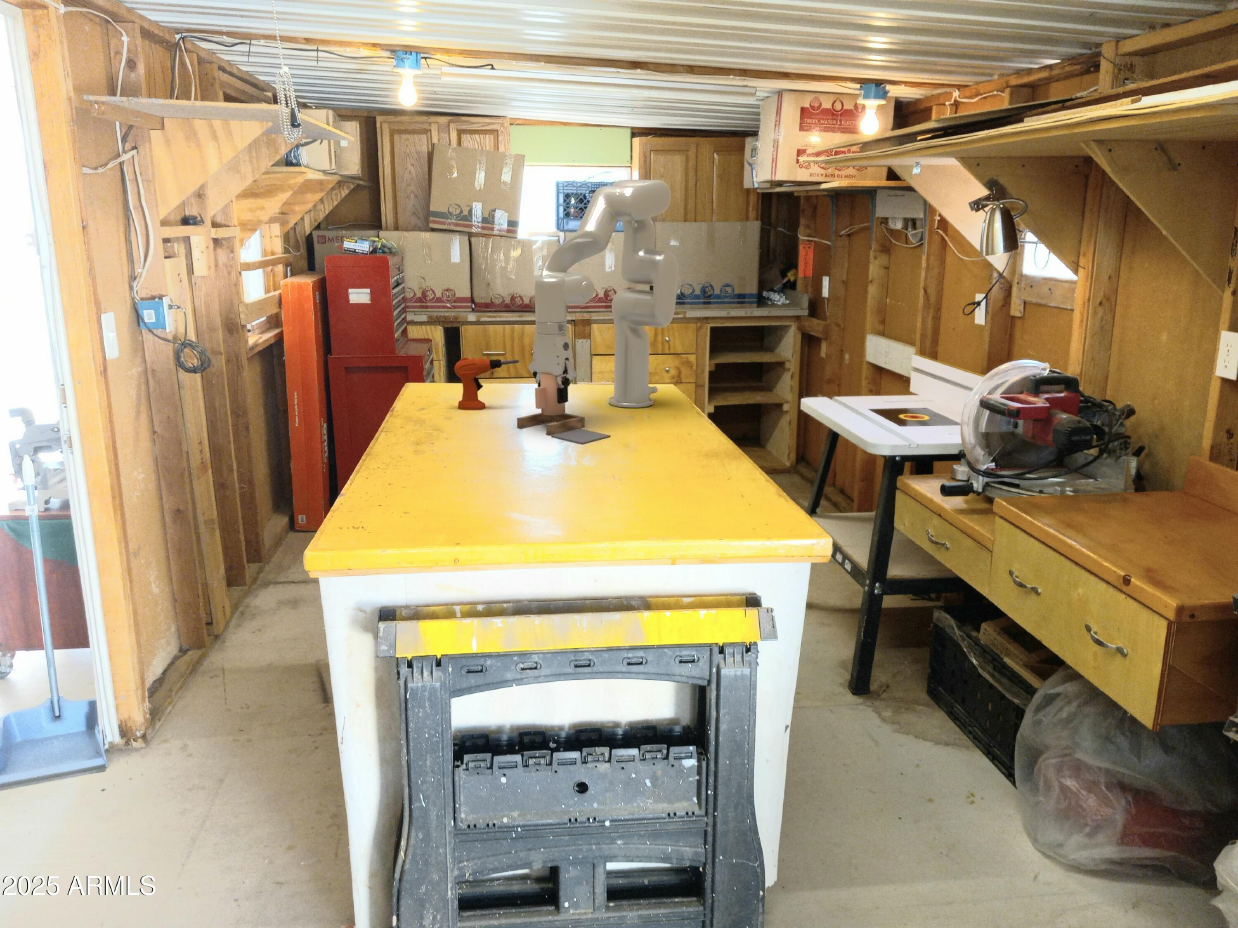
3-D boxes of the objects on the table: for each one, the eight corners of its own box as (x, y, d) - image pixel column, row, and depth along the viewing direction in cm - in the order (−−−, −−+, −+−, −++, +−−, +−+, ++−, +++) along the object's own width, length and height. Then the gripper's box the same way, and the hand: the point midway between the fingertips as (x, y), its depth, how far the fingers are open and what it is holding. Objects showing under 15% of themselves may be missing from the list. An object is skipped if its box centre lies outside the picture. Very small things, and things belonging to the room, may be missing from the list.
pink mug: (553, 408, 233) (552, 369, 230) (570, 412, 229) (569, 372, 226) (528, 414, 227) (527, 374, 224) (546, 418, 223) (545, 378, 220)
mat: (579, 430, 227) (579, 428, 227) (610, 436, 221) (610, 435, 221) (551, 437, 220) (551, 435, 220) (582, 444, 214) (582, 442, 214)
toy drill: (525, 404, 248) (517, 352, 244) (458, 413, 247) (449, 360, 243) (524, 401, 253) (517, 349, 248) (459, 409, 251) (450, 357, 247)
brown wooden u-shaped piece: (552, 419, 237) (552, 410, 237) (584, 427, 230) (584, 417, 230) (517, 427, 228) (517, 418, 228) (549, 435, 221) (549, 425, 221)
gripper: (588, 330, 220) (588, 403, 226) (537, 323, 231) (539, 393, 236) (566, 334, 215) (567, 409, 220) (515, 326, 225) (517, 398, 231)
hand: (553, 400), depth 228 cm, fingers closed on pink mug, 6 cm apart
